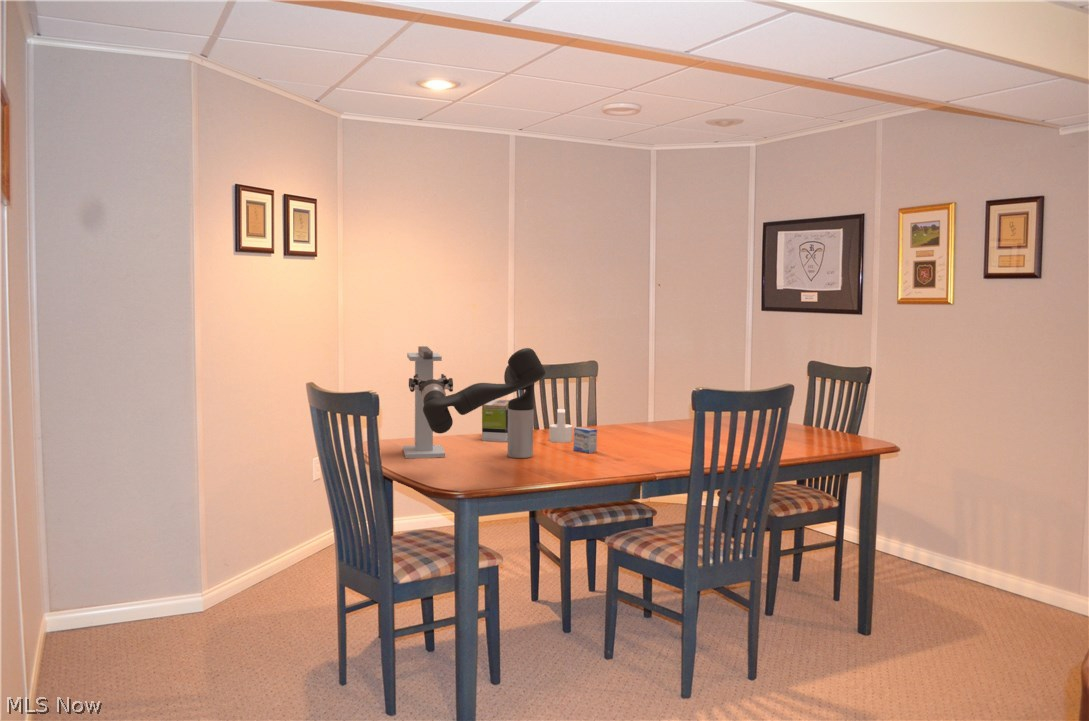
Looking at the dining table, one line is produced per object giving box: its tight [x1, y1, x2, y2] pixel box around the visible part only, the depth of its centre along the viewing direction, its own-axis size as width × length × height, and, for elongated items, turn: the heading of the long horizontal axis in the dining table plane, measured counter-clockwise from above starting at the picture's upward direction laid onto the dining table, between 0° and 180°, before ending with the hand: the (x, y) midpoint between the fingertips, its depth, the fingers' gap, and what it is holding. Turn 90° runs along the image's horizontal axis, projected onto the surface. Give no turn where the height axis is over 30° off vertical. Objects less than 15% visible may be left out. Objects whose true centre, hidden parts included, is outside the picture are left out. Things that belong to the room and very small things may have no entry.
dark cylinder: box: [417, 345, 434, 359], centre depth 306 cm, size 27×3×2 cm, turn 13°
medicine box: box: [573, 426, 598, 454], centre depth 324 cm, size 8×4×9 cm, turn 47°
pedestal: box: [402, 352, 446, 459], centre depth 313 cm, size 16×14×36 cm
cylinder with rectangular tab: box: [548, 408, 573, 444], centre depth 344 cm, size 9×9×12 cm
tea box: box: [481, 399, 511, 443], centre depth 347 cm, size 15×10×15 cm, turn 168°
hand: (429, 376), depth 289 cm, fingers open, 8 cm apart
